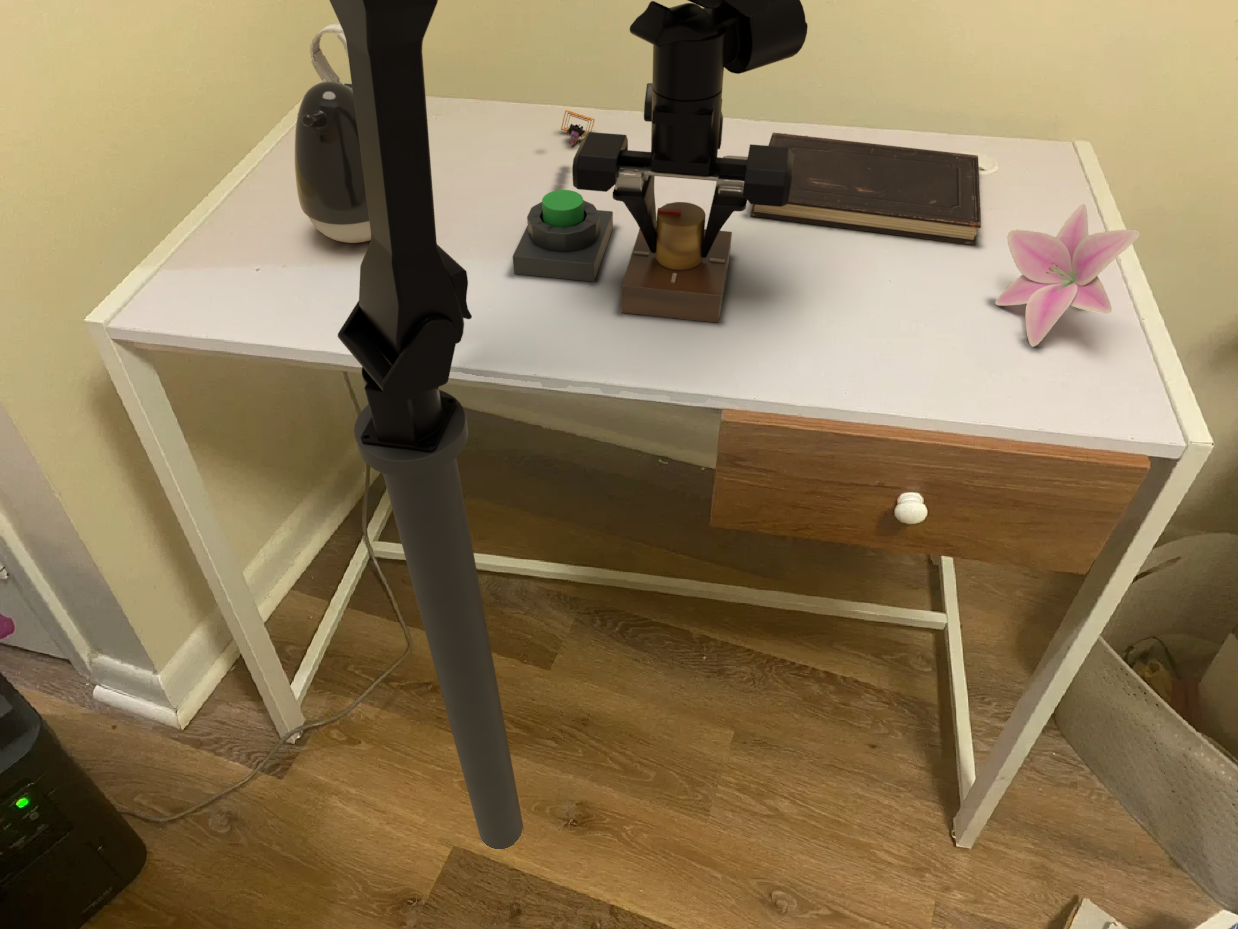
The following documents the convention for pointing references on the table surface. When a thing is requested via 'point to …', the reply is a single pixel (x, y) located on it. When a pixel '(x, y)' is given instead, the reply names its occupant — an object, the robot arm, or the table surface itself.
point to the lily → (1061, 271)
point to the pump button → (563, 208)
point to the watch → (320, 60)
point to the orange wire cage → (576, 127)
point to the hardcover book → (880, 189)
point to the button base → (564, 246)
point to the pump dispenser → (331, 164)
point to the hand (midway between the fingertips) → (679, 253)
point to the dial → (680, 235)
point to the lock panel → (676, 284)
